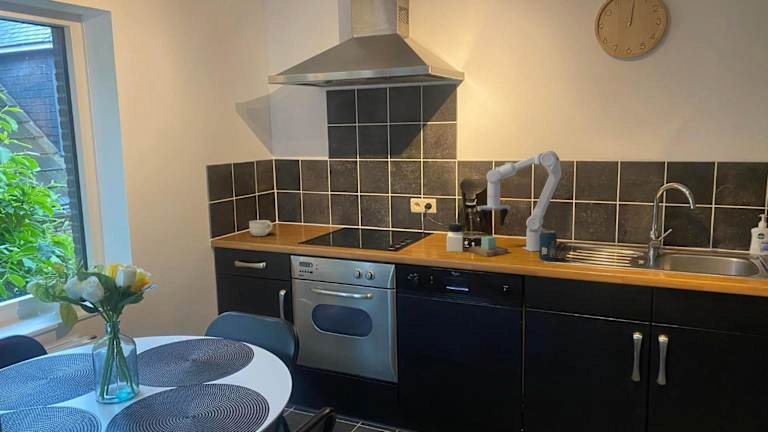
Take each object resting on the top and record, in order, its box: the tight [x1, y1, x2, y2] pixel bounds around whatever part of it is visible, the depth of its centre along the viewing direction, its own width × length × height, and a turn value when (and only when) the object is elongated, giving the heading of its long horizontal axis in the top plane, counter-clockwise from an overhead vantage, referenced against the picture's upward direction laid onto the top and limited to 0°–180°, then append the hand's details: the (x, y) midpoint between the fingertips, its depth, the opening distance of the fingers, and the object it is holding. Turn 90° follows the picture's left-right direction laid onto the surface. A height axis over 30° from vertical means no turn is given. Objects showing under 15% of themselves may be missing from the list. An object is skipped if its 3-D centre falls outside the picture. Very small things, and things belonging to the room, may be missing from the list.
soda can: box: [538, 229, 558, 262], centre depth 247 cm, size 7×7×12 cm
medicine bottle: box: [446, 223, 465, 253], centre depth 269 cm, size 7×7×12 cm
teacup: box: [248, 219, 274, 237], centre depth 316 cm, size 14×11×8 cm
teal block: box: [480, 235, 497, 250], centre depth 263 cm, size 4×4×5 cm
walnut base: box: [468, 245, 508, 258], centre depth 264 cm, size 12×12×2 cm
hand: (493, 225), depth 274 cm, fingers open, 7 cm apart
